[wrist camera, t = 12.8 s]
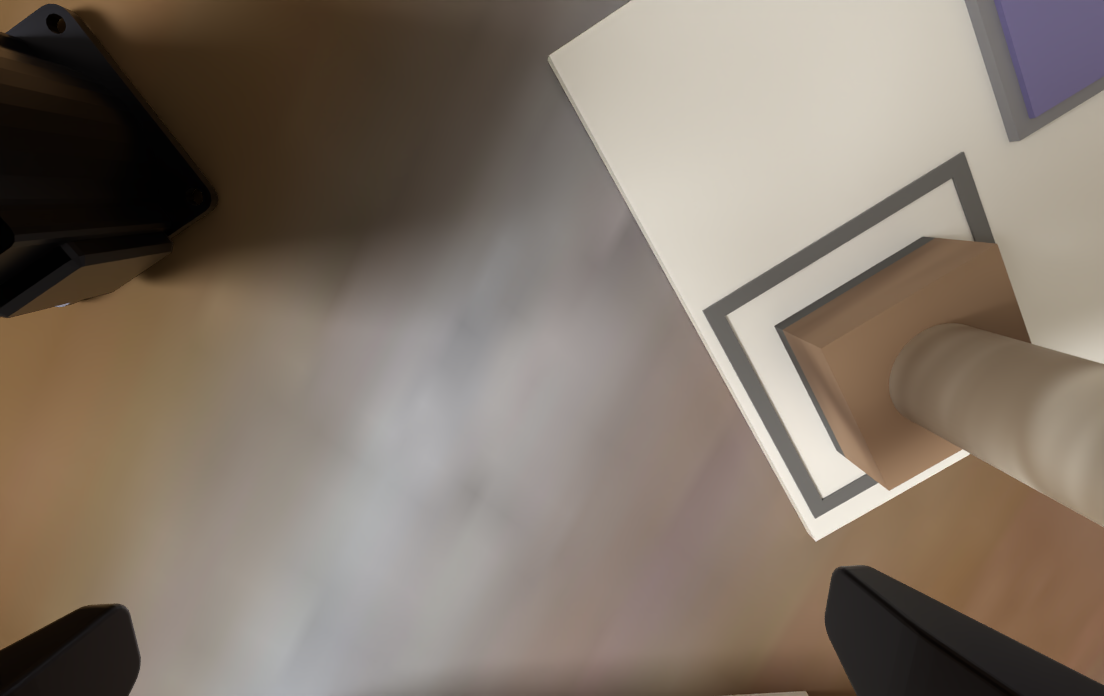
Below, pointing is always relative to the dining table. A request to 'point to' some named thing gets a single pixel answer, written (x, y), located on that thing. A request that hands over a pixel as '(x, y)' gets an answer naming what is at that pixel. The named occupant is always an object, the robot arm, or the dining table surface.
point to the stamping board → (848, 174)
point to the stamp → (949, 375)
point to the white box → (777, 694)
